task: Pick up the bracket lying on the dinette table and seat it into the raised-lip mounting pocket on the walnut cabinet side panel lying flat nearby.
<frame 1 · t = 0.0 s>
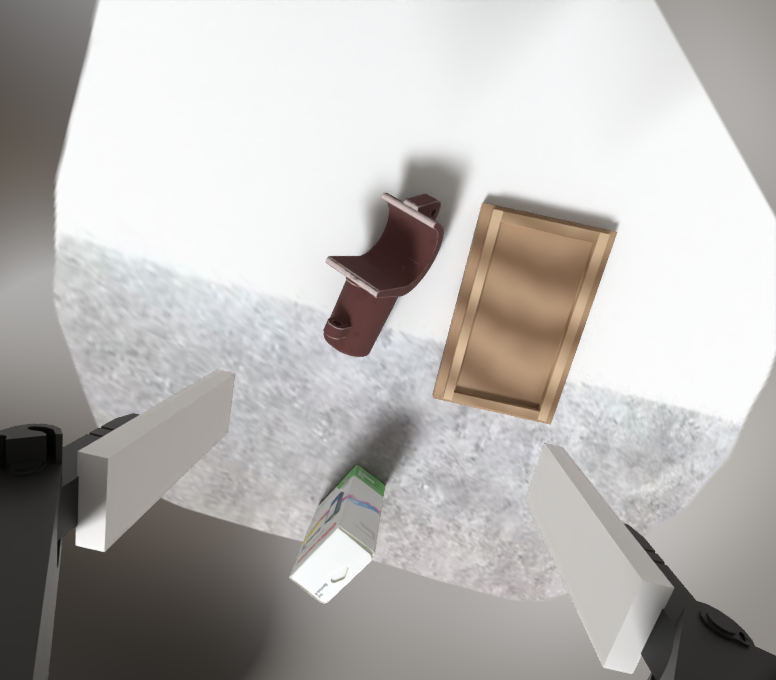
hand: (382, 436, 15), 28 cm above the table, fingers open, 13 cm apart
bracket: (381, 270, 42), on the table
ink box: (351, 493, 48), on the table
side panel: (516, 318, 42), on the table
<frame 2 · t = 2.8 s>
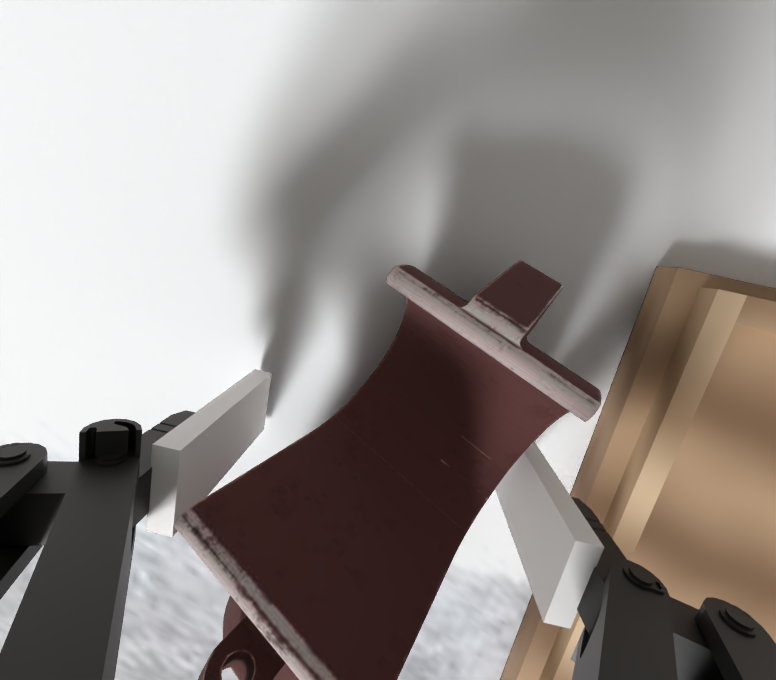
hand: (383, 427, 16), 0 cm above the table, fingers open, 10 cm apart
bracket: (381, 428, 17), on the table, touching gripper
side panel: (716, 539, 17), on the table
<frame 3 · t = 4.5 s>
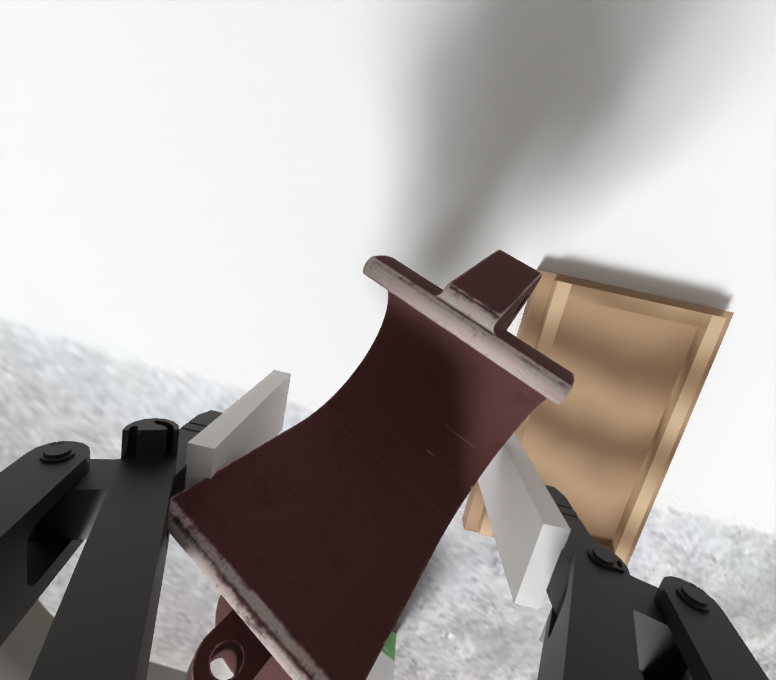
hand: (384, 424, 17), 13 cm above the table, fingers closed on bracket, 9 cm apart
bracket: (370, 421, 17), point 13 cm above the table, touching gripper
ink box: (350, 641, 36), on the table
side panel: (580, 423, 30), on the table
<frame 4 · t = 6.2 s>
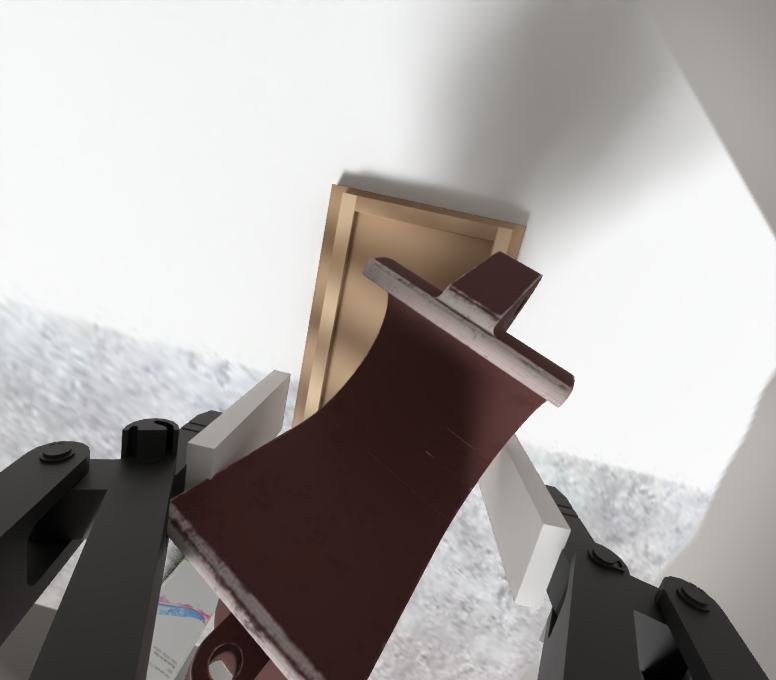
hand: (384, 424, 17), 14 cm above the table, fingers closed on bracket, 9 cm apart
bracket: (369, 422, 17), point 13 cm above the table, touching gripper
ink box: (199, 574, 36), on the table
side panel: (396, 348, 30), on the table
when the fingers open (3 cm above the table, at t = 8.8 s): bracket drops 1 cm, resting on side panel.
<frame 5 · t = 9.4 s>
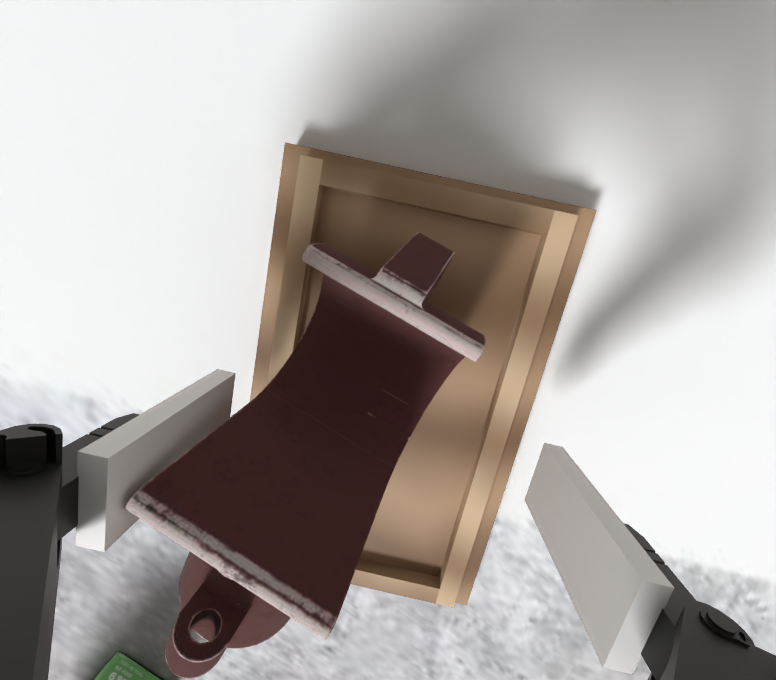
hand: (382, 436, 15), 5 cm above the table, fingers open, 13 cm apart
bracket: (310, 394, 18), point 2 cm above the table, touching gripper, side panel
side panel: (389, 395, 20), on the table
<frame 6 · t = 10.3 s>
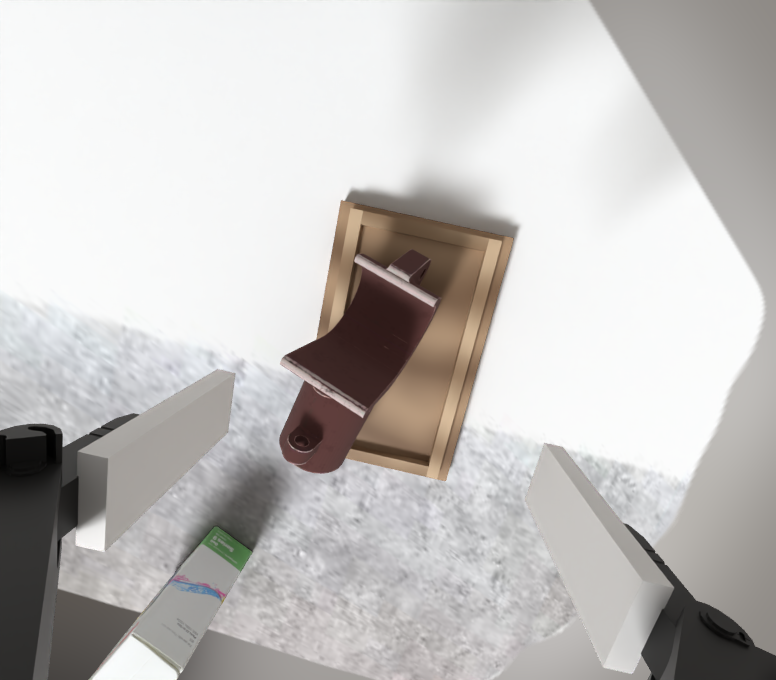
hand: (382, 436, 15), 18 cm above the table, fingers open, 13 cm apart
bracket: (352, 343, 31), point 2 cm above the table, touching side panel
ink box: (213, 560, 39), on the table
side panel: (397, 347, 33), on the table
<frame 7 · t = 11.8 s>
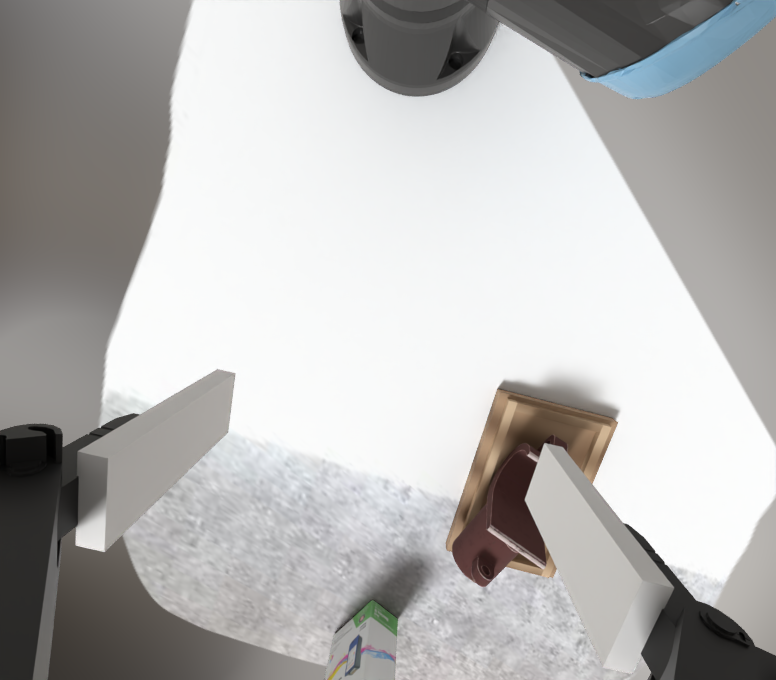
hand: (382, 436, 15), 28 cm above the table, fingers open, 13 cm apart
bracket: (497, 484, 44), point 2 cm above the table, touching side panel
ink box: (365, 624, 52), on the table
side panel: (524, 483, 46), on the table
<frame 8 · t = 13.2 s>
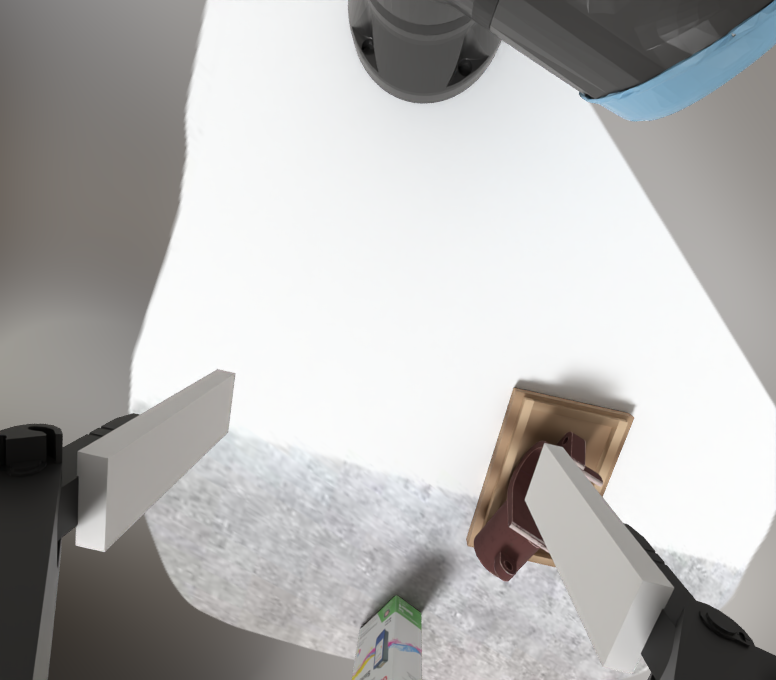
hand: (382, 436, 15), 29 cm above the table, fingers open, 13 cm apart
bracket: (516, 481, 45), point 2 cm above the table, touching side panel
ink box: (390, 618, 53), on the table
side panel: (542, 479, 47), on the table
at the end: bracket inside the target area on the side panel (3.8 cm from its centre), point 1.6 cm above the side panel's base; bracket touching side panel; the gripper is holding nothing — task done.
